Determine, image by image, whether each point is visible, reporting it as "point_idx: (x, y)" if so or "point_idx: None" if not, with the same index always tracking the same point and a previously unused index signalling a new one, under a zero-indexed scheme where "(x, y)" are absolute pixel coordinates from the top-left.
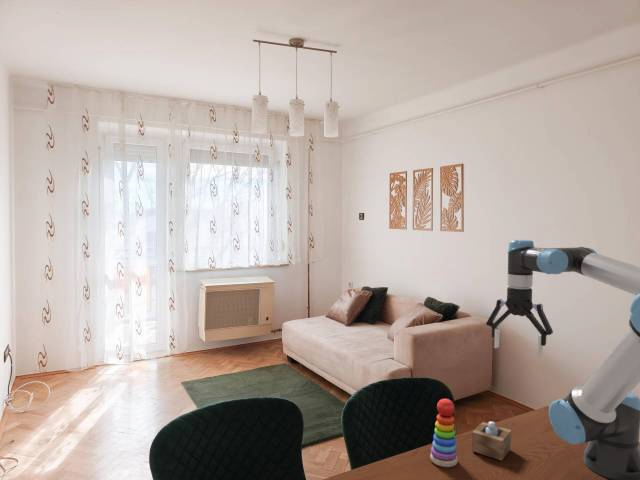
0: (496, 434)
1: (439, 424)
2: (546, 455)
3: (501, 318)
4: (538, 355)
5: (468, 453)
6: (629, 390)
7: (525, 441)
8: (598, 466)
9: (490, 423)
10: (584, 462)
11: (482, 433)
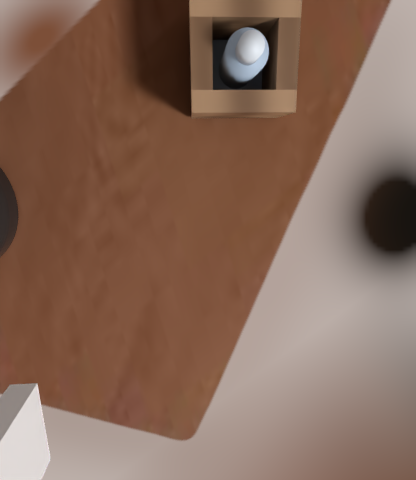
0: (225, 48)
1: None
2: (102, 156)
3: None
4: (27, 388)
5: None
6: None
7: (174, 203)
8: None
9: (254, 33)
10: (6, 177)
11: (267, 6)
